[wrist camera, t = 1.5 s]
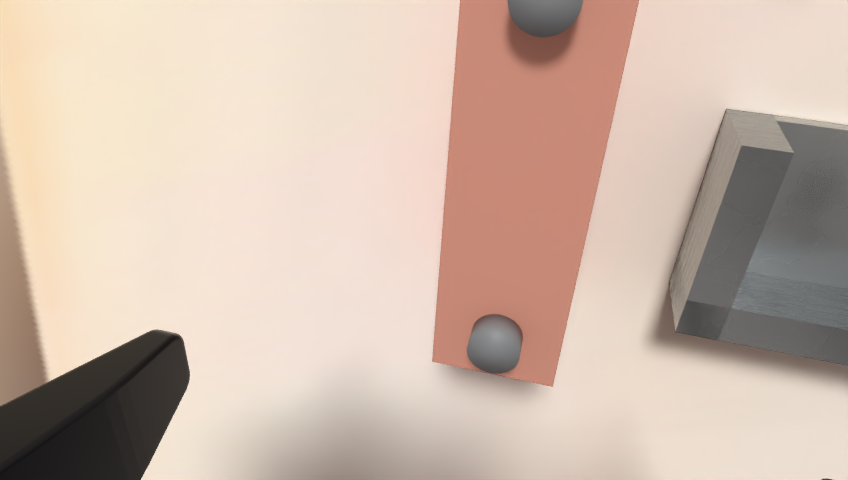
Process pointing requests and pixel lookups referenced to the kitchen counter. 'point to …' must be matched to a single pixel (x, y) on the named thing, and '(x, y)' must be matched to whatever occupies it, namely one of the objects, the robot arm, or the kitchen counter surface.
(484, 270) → the link
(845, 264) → the shallow metal tray
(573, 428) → the kitchen counter surface
